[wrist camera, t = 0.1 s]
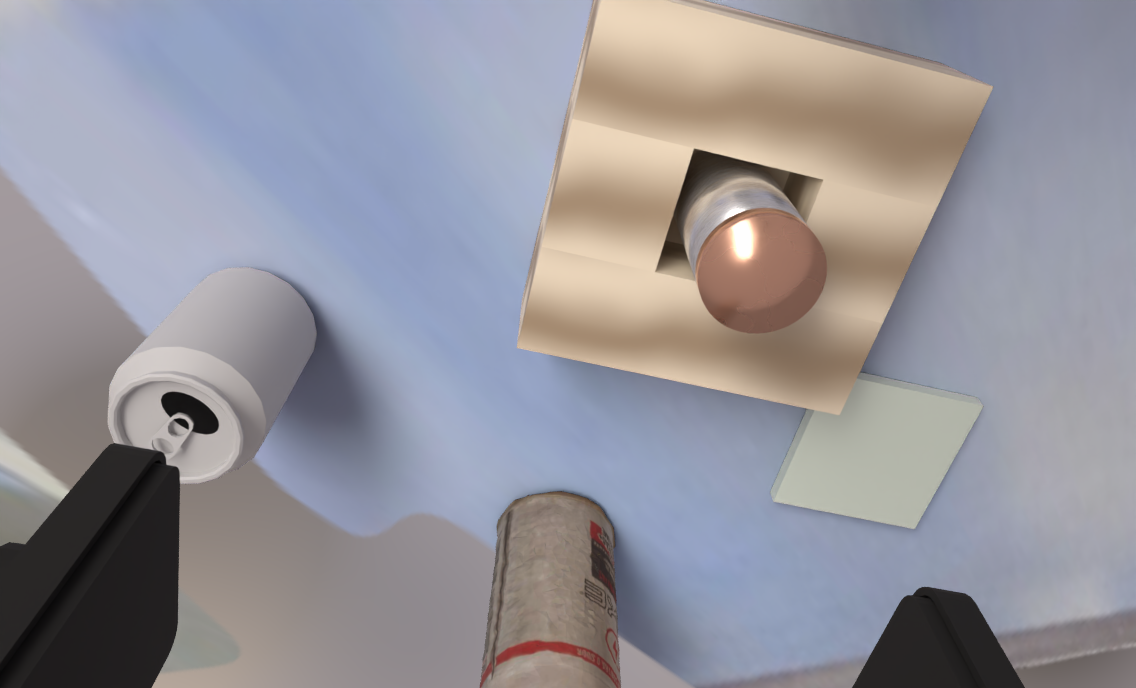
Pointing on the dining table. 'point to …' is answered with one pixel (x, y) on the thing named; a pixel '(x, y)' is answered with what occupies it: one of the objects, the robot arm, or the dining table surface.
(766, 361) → the housing
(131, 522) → the robot arm
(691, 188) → the copper topped silver cylinder
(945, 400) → the pad
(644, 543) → the dining table surface
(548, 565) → the spray can
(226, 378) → the can
